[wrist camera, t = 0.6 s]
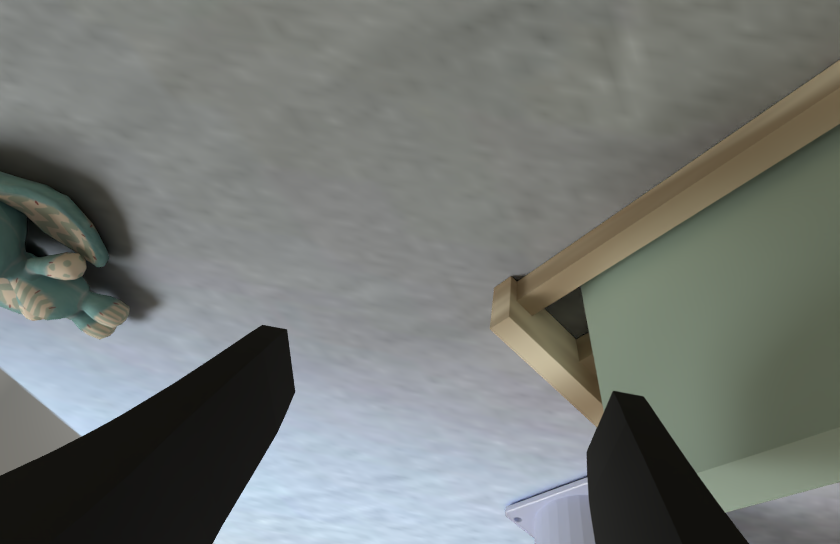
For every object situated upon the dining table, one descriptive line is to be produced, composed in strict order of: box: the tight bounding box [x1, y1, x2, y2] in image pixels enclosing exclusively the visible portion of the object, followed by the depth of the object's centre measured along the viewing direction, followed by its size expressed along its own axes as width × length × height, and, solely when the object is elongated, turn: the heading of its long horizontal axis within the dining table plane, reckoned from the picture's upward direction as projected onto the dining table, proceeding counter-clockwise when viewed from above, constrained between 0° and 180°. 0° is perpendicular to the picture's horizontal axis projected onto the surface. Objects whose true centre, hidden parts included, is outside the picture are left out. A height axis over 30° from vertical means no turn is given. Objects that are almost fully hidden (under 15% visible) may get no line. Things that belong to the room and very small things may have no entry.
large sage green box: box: [580, 124, 840, 513], centre depth 12 cm, size 2×14×10 cm, turn 137°
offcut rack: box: [490, 60, 840, 427], centre depth 15 cm, size 12×20×3 cm, turn 137°
